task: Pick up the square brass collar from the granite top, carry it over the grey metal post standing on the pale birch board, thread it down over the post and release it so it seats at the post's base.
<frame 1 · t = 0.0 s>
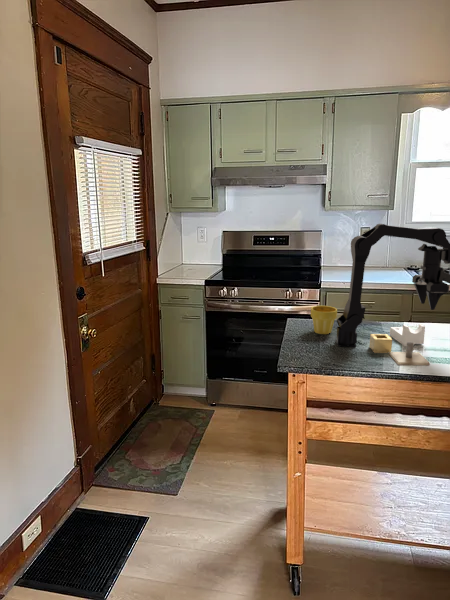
hand: (427, 306, 162), 15 cm above the worktop, fingers open, 9 cm apart
post board: (408, 359, 151), on the worktop
brass collar: (380, 350, 160), on the worktop
plant pot: (322, 332, 182), on the worktop
bracket: (405, 341, 171), on the worktop
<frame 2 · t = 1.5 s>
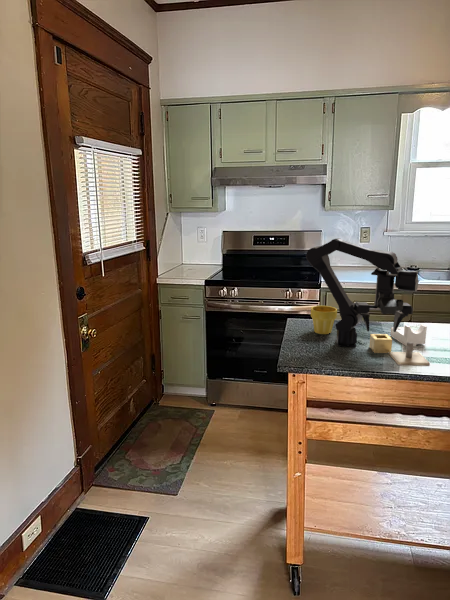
hand: (381, 331, 159), 7 cm above the worktop, fingers open, 9 cm apart
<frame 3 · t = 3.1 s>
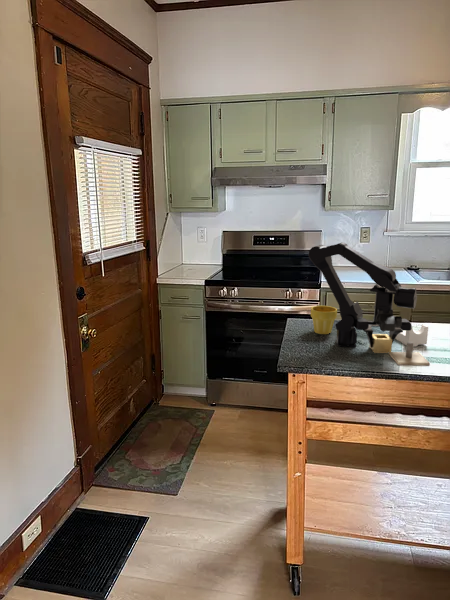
hand: (380, 347, 160), 1 cm above the worktop, fingers closed on brass collar, 6 cm apart
brass collar: (380, 350, 160), on the worktop, touching gripper
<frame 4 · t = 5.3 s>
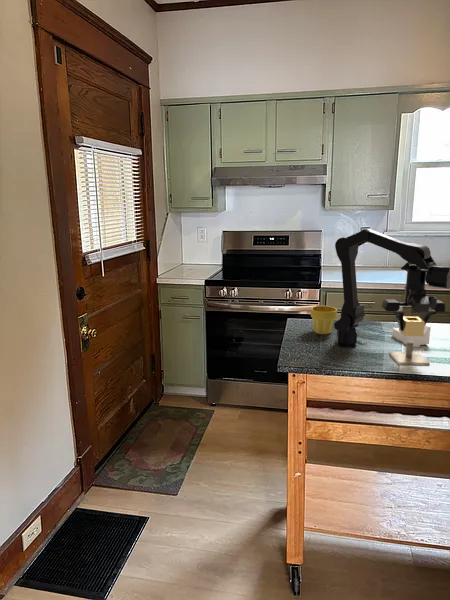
hand: (411, 330, 149), 10 cm above the worktop, fingers closed on brass collar, 6 cm apart
brass collar: (410, 333, 149), point 9 cm above the worktop, touching gripper
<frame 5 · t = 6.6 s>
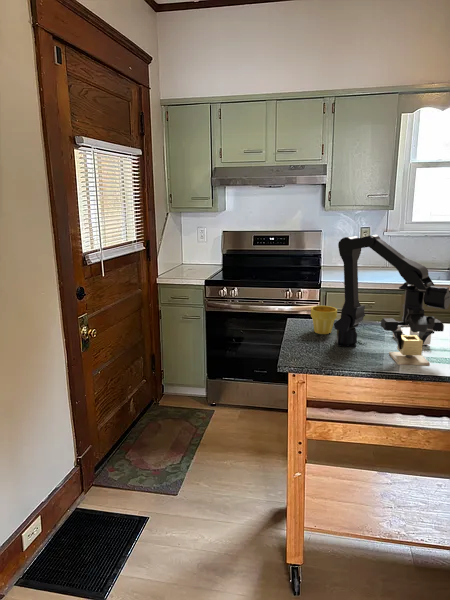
hand: (409, 349, 151), 4 cm above the worktop, fingers closed on brass collar, 6 cm apart
brass collar: (409, 352, 151), point 3 cm above the worktop, touching gripper
when the fingers open (3 cm above the worktop, at t = 7.6 s): brass collar drops 1 cm, resting on post board.
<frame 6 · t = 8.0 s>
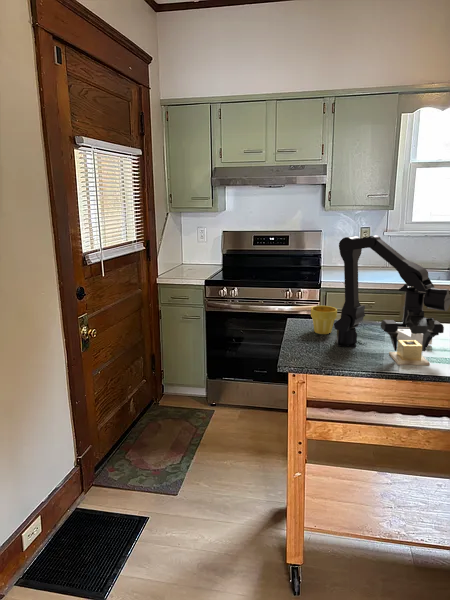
hand: (409, 350, 151), 3 cm above the worktop, fingers open, 9 cm apart
brass collar: (408, 357, 151), point 1 cm above the worktop, touching post board
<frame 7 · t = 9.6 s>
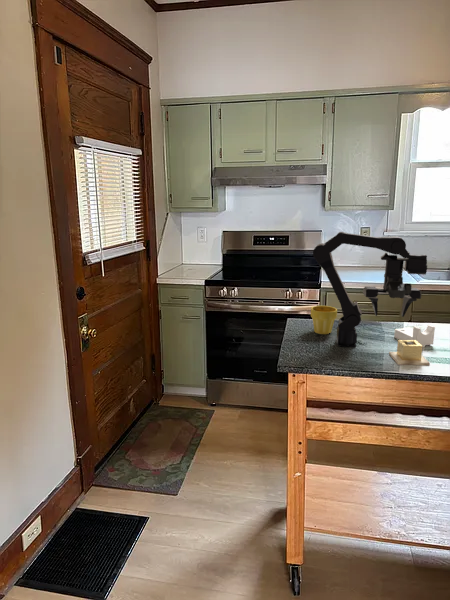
hand: (389, 316, 160), 12 cm above the worktop, fingers open, 9 cm apart
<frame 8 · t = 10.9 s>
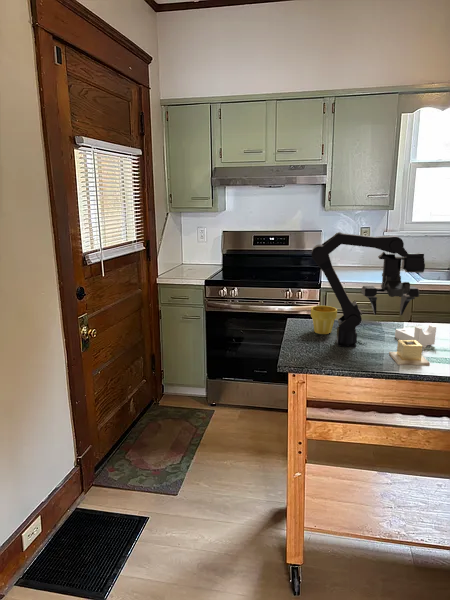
hand: (388, 314, 161), 12 cm above the worktop, fingers open, 9 cm apart
at the end: brass collar 0.1 cm off-centre on the post board, point 0.8 cm above the post board's base; the gripper is holding nothing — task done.
